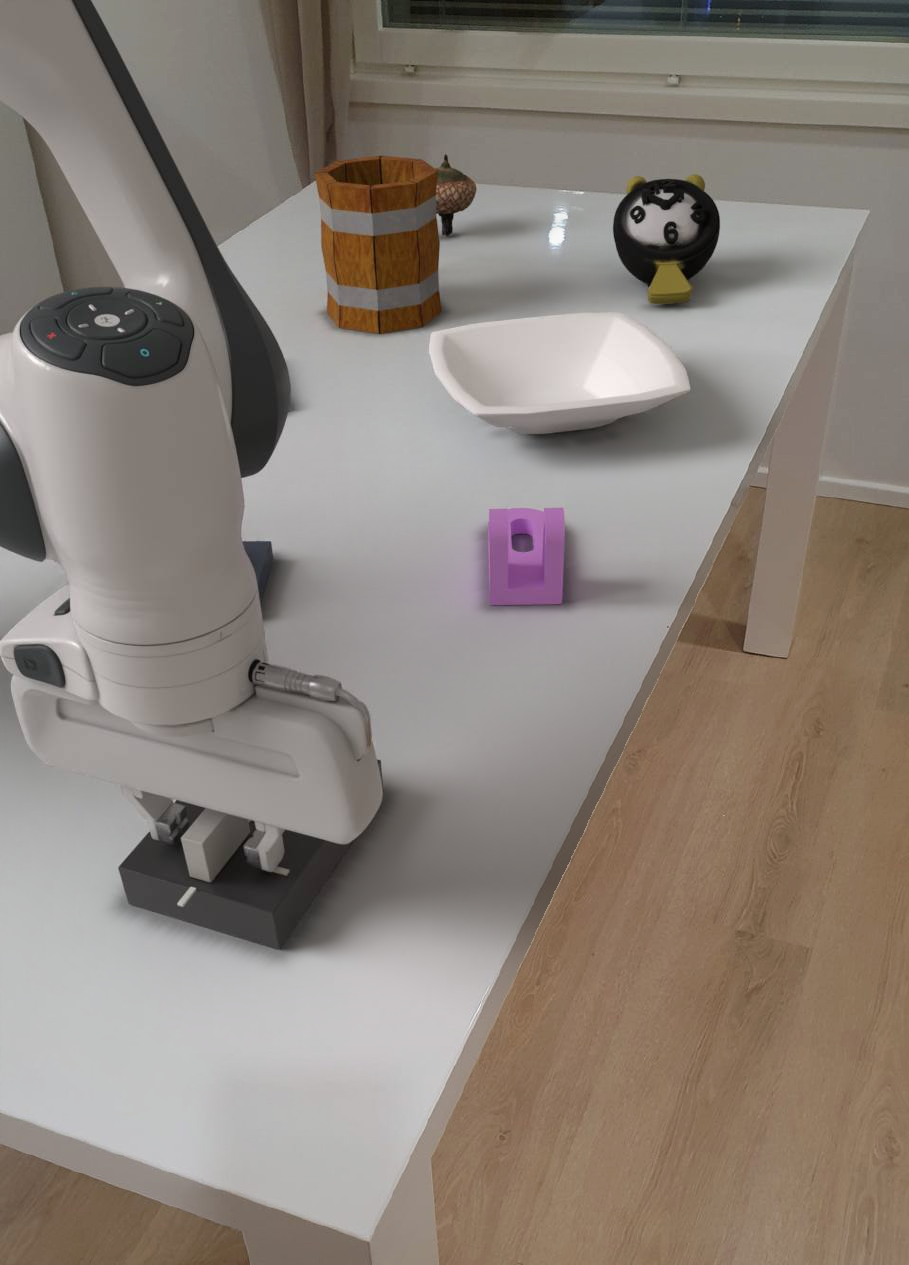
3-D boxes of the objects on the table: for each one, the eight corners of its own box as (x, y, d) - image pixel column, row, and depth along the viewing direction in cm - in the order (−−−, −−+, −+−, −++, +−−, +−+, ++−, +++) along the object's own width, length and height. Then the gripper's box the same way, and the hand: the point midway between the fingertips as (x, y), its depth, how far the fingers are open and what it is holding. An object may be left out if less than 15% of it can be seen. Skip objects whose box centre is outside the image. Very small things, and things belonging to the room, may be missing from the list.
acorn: (421, 249, 159) (418, 165, 153) (410, 230, 165) (406, 148, 159) (483, 243, 160) (482, 159, 154) (469, 224, 166) (468, 143, 160)
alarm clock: (601, 327, 147) (570, 194, 142) (682, 301, 154) (655, 173, 149) (672, 306, 138) (642, 163, 132) (754, 279, 145) (729, 143, 140)
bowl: (415, 384, 126) (413, 328, 122) (630, 360, 129) (634, 306, 126) (461, 480, 110) (459, 420, 106) (705, 451, 113) (712, 391, 109)
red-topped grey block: (211, 883, 68) (201, 841, 66) (189, 877, 68) (179, 834, 66) (250, 832, 71) (243, 789, 69) (230, 826, 71) (221, 784, 69)
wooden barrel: (439, 333, 137) (434, 188, 127) (320, 334, 137) (305, 190, 127) (447, 274, 151) (443, 140, 141) (339, 276, 152) (328, 142, 142)
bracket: (562, 604, 94) (565, 522, 89) (489, 605, 94) (489, 524, 89) (553, 522, 104) (555, 444, 99) (487, 523, 104) (487, 446, 99)
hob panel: (267, 967, 67) (260, 928, 65) (115, 920, 70) (103, 881, 68) (384, 796, 78) (381, 757, 75) (247, 761, 80) (240, 723, 78)
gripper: (394, 652, 59) (408, 857, 68) (45, 577, 65) (101, 775, 74) (336, 727, 55) (359, 935, 64) (-31, 639, 61) (38, 841, 70)
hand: (218, 848), depth 69 cm, fingers open, 5 cm apart
